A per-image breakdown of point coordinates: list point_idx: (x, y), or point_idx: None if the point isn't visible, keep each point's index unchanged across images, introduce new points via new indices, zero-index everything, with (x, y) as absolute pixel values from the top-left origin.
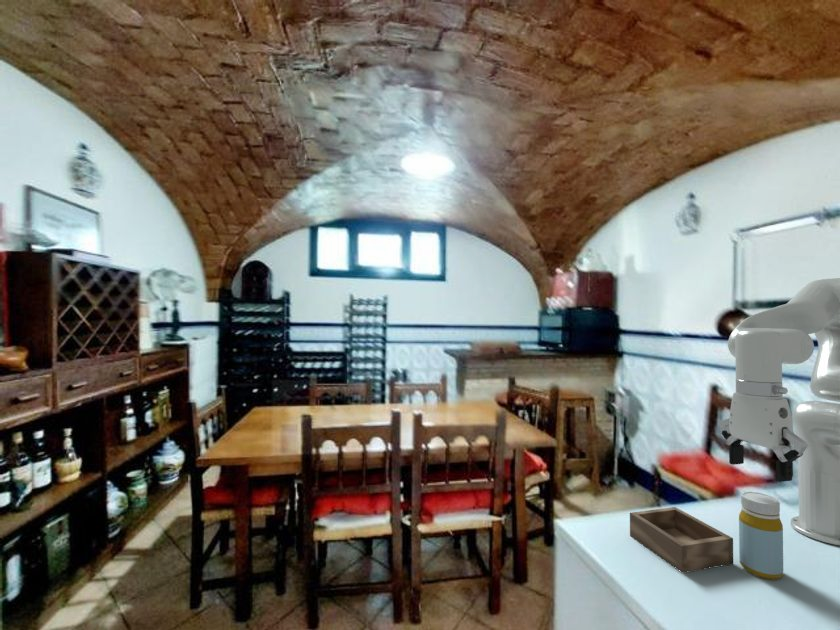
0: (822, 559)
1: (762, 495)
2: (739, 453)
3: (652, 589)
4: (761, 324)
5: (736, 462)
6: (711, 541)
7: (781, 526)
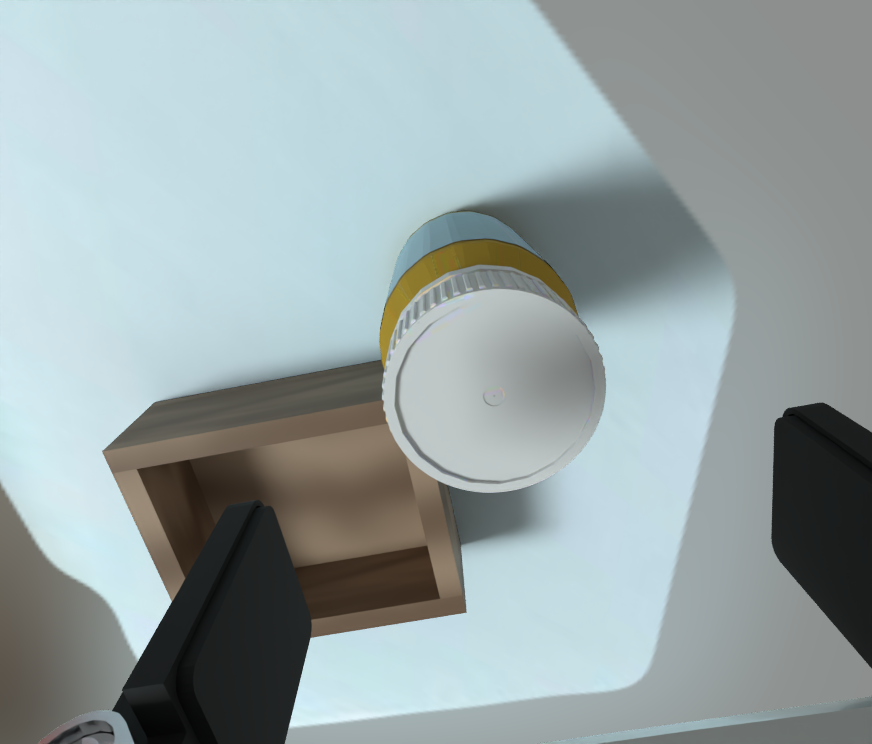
0: None
1: (447, 338)
2: (255, 650)
3: (527, 652)
4: None
5: (297, 600)
6: (440, 496)
7: (570, 294)
